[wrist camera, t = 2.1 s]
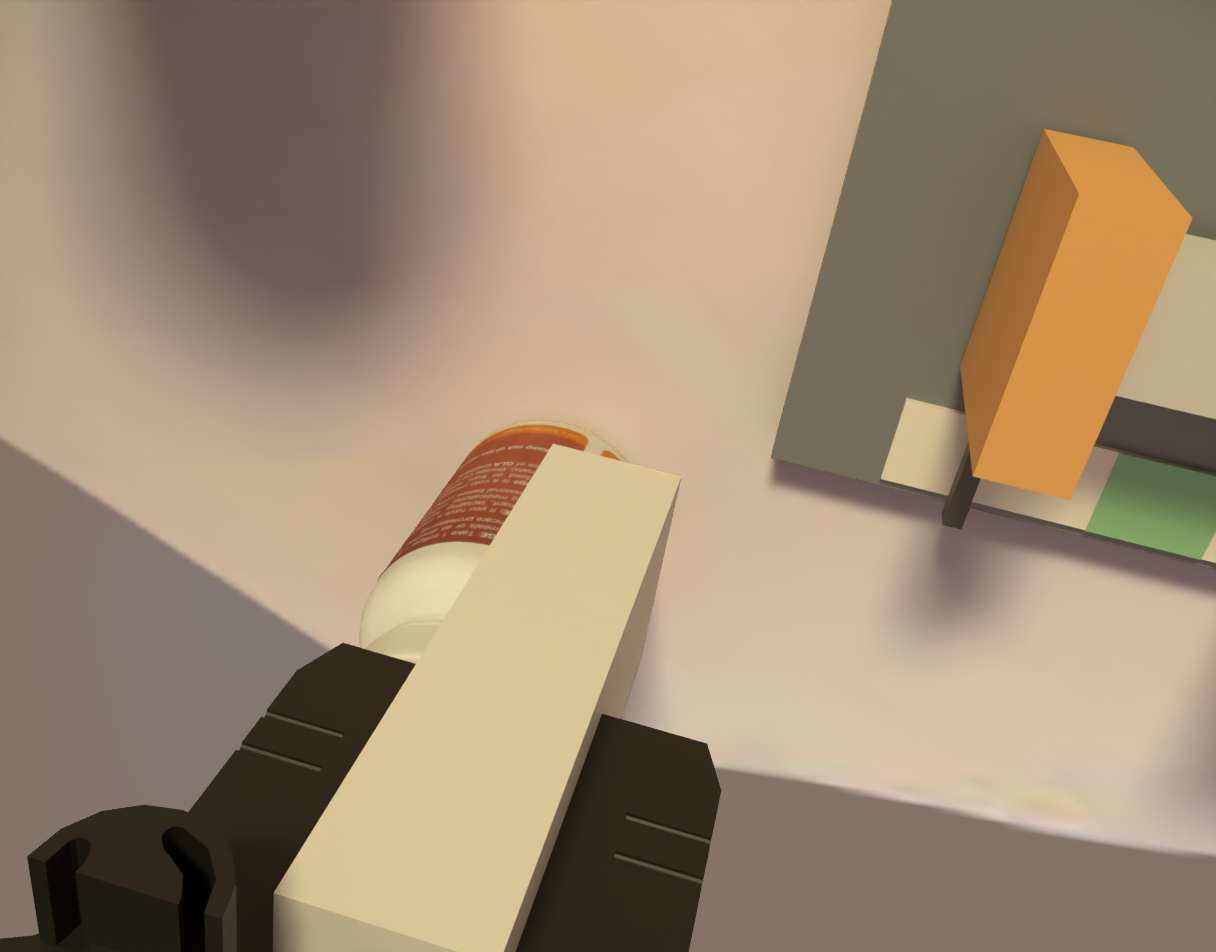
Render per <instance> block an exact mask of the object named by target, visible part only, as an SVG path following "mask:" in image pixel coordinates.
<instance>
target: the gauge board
mask: <svg viewBox="0 0 1216 952" xmlns="http://www.w3.org/2000/svg"><path fill="white" fill-rule="evenodd" d="M1043 129H1048V130H1053V131H1057V132H1062V133H1067V134H1072V135H1077V136H1081V137H1086V138H1091V139H1096V140H1101V141H1105V142H1110V143H1115V144H1120V145H1125V146H1129V147H1134V149H1135V150H1136V151H1137V152H1138V153H1139V155H1140V156H1141V157H1142V158H1143V159H1144V161H1145V162H1146V163H1147V164H1148V165H1149V167H1150V168H1151V169H1152V170H1153V171H1154V173H1155V174H1156V175H1157V176H1158V177H1159V179H1160V180H1161V181H1162V182H1163V183H1164V185H1165V186H1166V187H1167V188H1168V189H1169V190H1170V192H1171V193H1172V194H1173V195H1174V196H1175V198H1176V199H1177V200H1178V201H1179V202H1180V204H1181V205H1182V206H1183V207H1184V208H1185V210H1186V211H1187V212H1188V213H1189V214H1190V216H1191V217H1192V218H1193V219H1192V221H1191V223H1190V225H1189V228H1188V230H1187V232H1186V234H1188V235H1193V236H1198V237H1202V238H1207V239H1211V240H1216V0H892V4H891V8H890V12H889V15H888V19H887V23H886V27H885V30H884V34H883V38H882V42H881V45H880V49H879V53H878V56H877V60H876V64H875V68H874V71H873V75H872V79H871V83H870V86H869V90H868V94H867V98H866V101H865V105H864V109H863V113H862V116H861V120H860V124H859V128H858V131H857V135H856V139H855V143H854V146H853V150H852V154H851V158H850V161H849V165H848V169H847V173H846V176H845V180H844V184H843V188H842V191H841V195H840V199H839V202H838V206H837V210H836V214H835V217H834V221H833V225H832V229H831V232H830V236H829V240H828V244H827V247H826V251H825V255H824V259H823V262H822V266H821V270H820V274H819V277H818V281H817V285H816V289H815V292H814V296H813V300H812V304H811V307H810V311H809V315H808V319H807V322H806V326H805V330H804V333H803V337H802V341H801V345H800V348H799V352H798V356H797V360H796V363H795V367H794V371H793V375H792V378H791V382H790V386H789V390H788V393H787V397H786V401H785V405H784V408H783V412H782V416H781V420H780V423H779V427H778V431H777V435H776V438H775V443H774V447H773V451H772V456H771V458H773V459H777V460H781V461H785V462H789V463H793V464H797V465H801V466H805V467H809V468H813V469H817V470H821V471H825V472H829V473H833V474H837V475H841V476H845V477H849V478H853V479H857V480H861V481H865V482H869V483H873V484H877V485H881V486H885V487H889V488H893V489H897V490H900V491H904V492H908V493H912V494H916V495H920V496H924V497H928V498H932V499H936V500H940V501H944V502H946V501H947V498H948V495H949V492H950V490H951V487H952V484H953V482H954V479H955V476H956V473H957V471H958V468H959V465H960V463H961V460H962V457H963V454H964V452H965V449H966V446H967V444H968V441H969V440H968V431H967V422H966V413H965V404H964V395H963V387H962V378H961V369H960V366H961V363H962V360H963V357H964V355H965V352H966V349H967V346H968V343H969V340H970V337H971V335H972V332H973V329H974V326H975V323H976V320H977V317H978V315H979V312H980V309H981V306H982V303H983V300H984V297H985V295H986V292H987V289H988V286H989V283H990V280H991V277H992V275H993V272H994V269H995V266H996V263H997V260H998V257H999V255H1000V252H1001V249H1002V246H1003V243H1004V240H1005V237H1006V235H1007V232H1008V229H1009V226H1010V223H1011V220H1012V217H1013V215H1014V212H1015V209H1016V206H1017V203H1018V200H1019V197H1020V195H1021V192H1022V189H1023V186H1024V183H1025V180H1026V177H1027V175H1028V172H1029V169H1030V166H1031V163H1032V160H1033V157H1034V155H1035V152H1036V149H1037V146H1038V143H1039V140H1040V137H1041V135H1042V132H1043ZM970 508H972V509H976V510H980V511H984V512H988V513H992V514H996V515H1000V516H1004V517H1008V518H1012V519H1016V520H1020V521H1024V522H1028V523H1032V524H1036V525H1040V526H1044V527H1048V528H1052V529H1056V530H1060V531H1063V532H1067V533H1071V534H1075V535H1079V536H1083V537H1087V538H1091V539H1095V540H1099V541H1103V542H1107V543H1111V544H1115V545H1119V546H1123V547H1127V548H1131V549H1135V550H1139V551H1143V552H1147V553H1151V554H1155V555H1159V556H1163V557H1167V558H1171V559H1175V560H1179V561H1183V562H1187V563H1191V564H1195V565H1199V566H1203V567H1207V568H1211V569H1215V570H1216V419H1213V418H1208V417H1204V416H1200V415H1196V414H1191V413H1187V412H1183V411H1179V410H1174V409H1170V408H1166V407H1162V406H1157V405H1153V404H1149V403H1145V402H1140V401H1136V400H1132V399H1128V398H1123V397H1119V396H1115V398H1114V400H1113V403H1112V405H1111V407H1110V410H1109V412H1108V414H1107V417H1106V419H1105V421H1104V424H1103V426H1102V428H1101V430H1100V433H1099V435H1098V437H1097V440H1096V442H1095V444H1094V447H1093V449H1092V451H1091V453H1090V456H1089V458H1088V460H1087V463H1086V465H1085V467H1084V470H1083V472H1082V474H1081V476H1080V479H1079V481H1078V483H1077V486H1076V488H1075V490H1074V493H1073V495H1072V497H1071V500H1066V499H1062V498H1058V497H1054V496H1050V495H1046V494H1042V493H1038V492H1034V491H1030V490H1026V489H1022V488H1018V487H1014V486H1010V485H1006V484H1002V483H998V482H994V481H990V480H985V479H980V482H979V485H978V487H977V490H976V493H975V495H974V498H973V500H972V503H971V506H970Z"/></svg>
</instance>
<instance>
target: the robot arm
mask: <svg viewBox="0 0 1216 952" xmlns="http://www.w3.org/2000/svg"><path fill="white" fill-rule="evenodd" d="M680 481H681V476H677V475H673V474H669V473H665V472H662V471H658V470H654V469H650V468H646V467H642V466H638V465H634V464H631V463H627V462H623V461H619V460H615V459H611V458H607V457H603V456H599V455H596V454H592V453H588V452H584V451H580V450H576V449H572V448H568V447H564V446H561V445H557V444H552V446H551V448H550V449H549V451H548V453H547V454H546V456H545V457H544V459H543V461H542V462H541V464H540V465H539V467H538V469H537V470H536V472H535V473H534V475H533V477H532V478H531V480H530V481H529V483H528V485H527V486H526V488H525V490H524V491H523V493H522V494H521V496H520V498H519V499H518V501H517V502H516V504H515V506H514V507H513V509H512V510H511V512H510V514H509V515H508V517H507V518H506V520H505V522H504V523H503V525H502V527H501V528H500V530H499V531H498V533H497V535H496V536H495V538H494V539H493V541H492V543H491V544H490V546H489V547H488V549H487V551H486V552H485V554H484V555H483V557H482V559H481V560H480V562H479V563H478V565H477V567H476V568H475V570H474V572H473V573H472V575H471V576H470V578H469V580H468V581H467V583H466V584H465V586H464V588H463V589H462V591H461V592H460V594H459V596H458V597H457V599H456V600H455V602H454V604H453V605H452V607H451V609H450V610H449V612H448V613H447V615H446V617H445V618H444V620H443V621H442V623H441V625H440V626H439V628H438V629H437V631H436V633H435V634H434V636H433V637H432V639H431V641H430V642H429V644H428V645H427V647H426V649H425V650H424V652H423V654H422V655H421V657H420V658H419V660H418V662H417V663H416V664H415V663H412V662H408V661H405V660H401V659H398V658H394V657H391V656H387V655H384V654H380V653H377V652H373V651H370V650H366V649H363V648H359V647H356V646H352V645H349V644H345V643H342V644H340V645H339V646H337V647H335V648H334V649H332V650H330V651H329V652H327V653H325V654H324V655H322V656H320V657H319V658H317V659H315V660H314V661H312V662H310V663H309V664H307V665H305V666H304V667H302V668H300V669H299V670H297V671H296V672H295V674H294V675H293V676H292V678H291V679H290V680H289V682H288V683H287V684H286V685H285V687H284V688H283V689H282V691H281V692H280V693H279V695H278V696H277V697H276V698H275V700H274V701H273V702H272V704H271V705H270V706H269V708H268V709H267V713H266V715H265V717H264V718H263V717H261V718H260V719H259V721H258V722H257V723H256V725H255V726H254V727H253V728H252V730H251V731H250V732H249V734H248V735H247V736H246V738H245V739H244V740H243V742H242V746H241V748H240V750H239V751H238V750H236V751H235V752H234V753H233V755H232V756H231V757H230V758H229V760H228V761H227V762H226V764H225V765H224V766H223V768H222V769H221V770H220V772H219V773H218V774H217V775H216V777H215V778H214V779H213V781H212V782H211V783H210V785H209V786H208V787H207V789H206V790H205V791H204V792H203V794H202V795H201V796H200V798H199V799H198V800H197V802H196V803H195V804H194V805H193V807H192V808H191V810H190V811H189V812H188V813H187V812H186V811H184V810H178V809H171V808H163V807H156V806H149V805H140V806H133V807H126V808H120V809H113V810H107V811H101V812H99V813H96V814H94V815H92V816H90V817H87V818H85V819H83V820H80V821H78V822H76V823H73V824H71V825H69V826H66V827H64V828H62V829H60V830H59V831H58V832H56V833H55V834H54V835H53V836H52V837H50V838H49V839H48V840H47V841H46V842H44V843H43V844H42V845H41V846H39V847H38V848H37V849H36V850H35V851H33V852H32V853H31V854H30V855H28V864H29V870H30V877H31V883H32V890H33V896H34V903H35V909H36V916H37V922H38V929H39V934H37V935H33V936H24V937H14V938H3V939H0V952H688V951H689V947H690V942H691V937H692V932H693V927H694V922H695V917H696V912H697V907H698V903H699V897H700V892H701V886H702V881H703V878H704V873H705V868H706V863H707V858H708V853H709V848H710V847H709V846H710V842H711V838H712V833H713V828H714V823H715V818H716V814H717V808H718V804H719V799H720V794H721V788H720V785H719V782H718V778H717V775H716V772H715V768H714V765H713V762H712V759H711V755H710V752H709V749H708V745H707V744H706V743H703V742H699V741H696V740H692V739H689V738H685V737H682V736H678V735H675V734H671V733H668V732H664V731H661V730H657V729H654V728H650V727H647V726H643V725H640V724H636V723H633V722H629V721H626V720H622V719H621V717H622V714H623V711H624V708H625V705H626V702H627V699H628V696H629V693H630V691H631V688H632V685H633V682H634V679H635V676H636V673H637V670H638V667H639V664H640V660H641V656H642V651H643V647H644V642H645V638H646V633H647V629H648V624H649V620H650V615H651V611H652V606H653V602H654V597H655V593H656V588H657V584H658V579H659V575H660V571H661V566H662V562H663V557H664V553H665V548H666V544H667V539H668V535H669V530H670V526H671V521H672V517H673V512H674V508H675V503H676V499H677V494H678V490H679V485H680Z"/></svg>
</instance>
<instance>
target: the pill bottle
mask: <svg viewBox="0 0 1216 952" xmlns="http://www.w3.org/2000/svg"><path fill="white" fill-rule="evenodd" d="M552 444H557V445H561V446H564V447H568V448H572V449H576V450H580V451H584V452H588V453H592V454H596V455H599V456H603V457H607V458H611V459H615V460H619V461H623V462H627V463H629V462H628V461H627V460H626V459H625V457H624V456H623V455H622V454H621V453H620V452H619V451H617V450H616V449H615V448H614V447H613V446H612V445H610V444H609V443H607V442H606V441H605V440H603V439H602V438H600V437H598V436H597V435H595V434H593V433H591V432H589V431H587V430H585V429H582V428H580V427H577V426H573V425H570V424H566V423H560V422H553V421H527V422H521V423H516V424H512V425H509V426H507V427H504V428H502V429H500V430H498V431H496V432H494V433H492V434H491V435H489V436H488V437H486V438H485V439H484V440H482V441H481V442H480V443H479V444H478V445H477V446H476V447H475V448H474V449H473V450H472V451H471V453H470V454H469V455H468V456H467V457H466V459H465V460H464V461H463V463H462V464H461V465H460V467H459V468H458V470H457V471H456V473H455V474H454V475H453V477H452V478H451V479H450V481H449V482H448V483H447V485H446V486H445V488H444V489H443V490H442V492H441V493H440V495H439V496H438V497H437V499H436V500H435V502H434V503H433V504H432V506H431V507H430V509H429V510H428V511H427V513H426V514H425V516H424V517H423V518H422V520H421V521H420V523H419V524H418V525H417V527H416V528H415V529H414V531H413V532H412V533H411V535H410V536H409V537H408V539H407V540H406V542H405V543H404V544H403V546H402V547H401V548H400V550H399V551H398V553H397V554H396V555H395V557H394V558H393V560H392V561H391V563H390V564H389V565H388V567H387V568H386V569H385V571H384V572H383V573H382V574H381V575H380V576H379V579H378V581H377V583H376V585H375V587H374V588H373V590H372V592H371V593H370V595H369V597H368V599H367V601H366V604H365V607H364V610H363V613H362V617H361V624H360V648H363V649H366V650H370V651H373V652H377V653H380V654H384V655H387V656H391V657H394V658H398V659H401V660H405V661H408V662H412V663H415V664H416V663H417V662H418V660H419V658H420V657H421V655H422V654H423V652H424V650H425V649H426V647H427V645H428V644H429V642H430V641H431V639H432V637H433V636H434V634H435V633H436V631H437V629H438V628H439V626H440V625H441V623H442V621H443V620H444V618H445V617H446V615H447V613H448V612H449V610H450V609H451V607H452V605H453V604H454V602H455V600H456V599H457V597H458V596H459V594H460V592H461V591H462V589H463V588H464V586H465V584H466V583H467V581H468V580H469V578H470V576H471V575H472V573H473V572H474V570H475V568H476V567H477V565H478V563H479V562H480V560H481V559H482V557H483V555H484V554H485V552H486V551H487V549H488V547H489V546H490V544H491V543H492V541H493V539H494V538H495V536H496V535H497V533H498V531H499V530H500V528H501V527H502V525H503V523H504V522H505V520H506V518H507V517H508V515H509V514H510V512H511V510H512V509H513V507H514V506H515V504H516V502H517V501H518V499H519V498H520V496H521V494H522V493H523V491H524V490H525V488H526V486H527V485H528V483H529V481H530V480H531V478H532V477H533V475H534V473H535V472H536V470H537V469H538V467H539V465H540V464H541V462H542V461H543V459H544V457H545V456H546V454H547V453H548V451H549V449H550V448H551V446H552Z"/></svg>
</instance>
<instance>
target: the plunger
mask: <svg viewBox="0 0 1216 952" xmlns="http://www.w3.org/2000/svg"><path fill="white" fill-rule="evenodd" d="M1192 219H1193V218H1192V217H1191V216H1190V214H1189V213H1188V212H1187V211H1186V210H1185V208H1184V207H1183V206H1182V205H1181V204H1180V202H1179V201H1178V200H1177V199H1176V198H1175V196H1174V195H1173V194H1172V193H1171V192H1170V190H1169V189H1168V188H1167V187H1166V186H1165V185H1164V183H1163V182H1162V181H1161V180H1160V179H1159V177H1158V176H1157V175H1156V174H1155V173H1154V171H1153V170H1152V169H1151V168H1150V167H1149V165H1148V164H1147V163H1146V162H1145V161H1144V159H1143V158H1142V157H1141V156H1140V155H1139V153H1138V152H1137V151H1136V150H1135V149H1134V147H1129V146H1125V145H1120V144H1115V143H1110V142H1105V141H1101V140H1096V139H1091V138H1086V137H1081V136H1077V135H1072V134H1067V133H1062V132H1057V131H1053V130H1048V129H1043V132H1042V135H1041V137H1040V140H1039V143H1038V146H1037V149H1036V152H1035V155H1034V157H1033V160H1032V163H1031V166H1030V169H1029V172H1028V175H1027V177H1026V180H1025V183H1024V186H1023V189H1022V192H1021V195H1020V197H1019V200H1018V203H1017V206H1016V209H1015V212H1014V215H1013V217H1012V220H1011V223H1010V226H1009V229H1008V232H1007V235H1006V237H1005V240H1004V243H1003V246H1002V249H1001V252H1000V255H999V257H998V260H997V263H996V266H995V269H994V272H993V275H992V277H991V280H990V283H989V286H988V289H987V292H986V295H985V297H984V300H983V303H982V306H981V309H980V312H979V315H978V317H977V320H976V323H975V326H974V329H973V332H972V335H971V337H970V340H969V343H968V346H967V349H966V352H965V355H964V357H963V360H962V363H961V366H960V369H961V378H962V387H963V395H964V404H965V413H966V422H967V431H968V440H969V441H968V444H967V446H966V449H965V452H964V454H963V457H962V460H961V463H960V465H959V468H958V471H957V473H956V476H955V479H954V482H953V484H952V487H951V490H950V492H949V495H948V498H947V501H946V503H945V506H944V509H943V511H942V525H946V526H950V527H954V528H958V529H962V527H963V524H964V521H965V519H966V516H967V514H968V511H969V508H970V506H971V503H972V500H973V498H974V495H975V493H976V490H977V487H978V485H979V482H980V479H985V480H990V481H994V482H998V483H1002V484H1006V485H1010V486H1014V487H1018V488H1022V489H1026V490H1030V491H1034V492H1038V493H1042V494H1046V495H1050V496H1054V497H1058V498H1062V499H1066V500H1071V497H1072V495H1073V493H1074V490H1075V488H1076V486H1077V483H1078V481H1079V479H1080V476H1081V474H1082V472H1083V470H1084V467H1085V465H1086V463H1087V460H1088V458H1089V456H1090V453H1091V451H1092V449H1093V447H1094V444H1095V442H1096V440H1097V437H1098V435H1099V433H1100V430H1101V428H1102V426H1103V424H1104V421H1105V419H1106V417H1107V414H1108V412H1109V410H1110V407H1111V405H1112V403H1113V400H1114V398H1115V396H1119V397H1123V398H1128V399H1132V400H1136V401H1140V402H1145V403H1149V404H1153V405H1157V406H1162V407H1166V408H1170V409H1174V410H1179V411H1183V412H1187V413H1191V414H1196V415H1200V416H1204V417H1208V418H1213V419H1216V240H1211V239H1207V238H1202V237H1198V236H1193V235H1188V234H1186V232H1187V230H1188V228H1189V225H1190V223H1191V221H1192Z"/></svg>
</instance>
